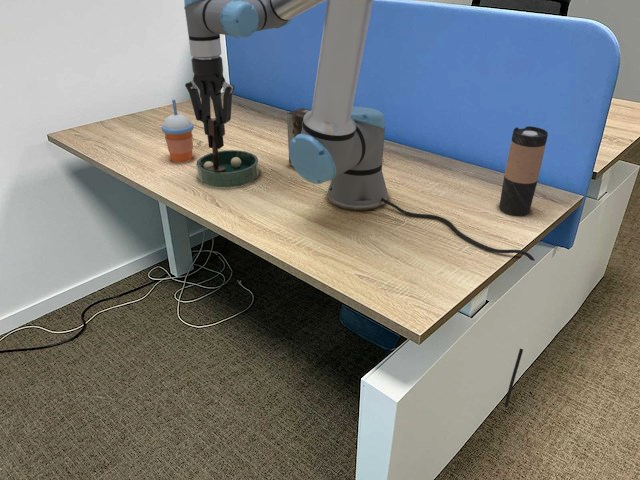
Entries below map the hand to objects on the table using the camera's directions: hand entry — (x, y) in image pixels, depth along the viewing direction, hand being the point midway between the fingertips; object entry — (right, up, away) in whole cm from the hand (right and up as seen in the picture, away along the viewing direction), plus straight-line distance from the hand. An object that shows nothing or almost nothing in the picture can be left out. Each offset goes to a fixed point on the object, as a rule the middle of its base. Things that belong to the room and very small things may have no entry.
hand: (216, 146), depth 142 cm
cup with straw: (-13, -1, +15) cm, 20 cm away
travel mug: (+76, -18, -12) cm, 79 cm away
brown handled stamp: (-1, -8, +3) cm, 8 cm away
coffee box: (+24, -4, +10) cm, 27 cm away
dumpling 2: (+4, -4, +9) cm, 11 cm away
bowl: (+3, -7, +5) cm, 9 cm away
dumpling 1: (-3, -6, +6) cm, 9 cm away
